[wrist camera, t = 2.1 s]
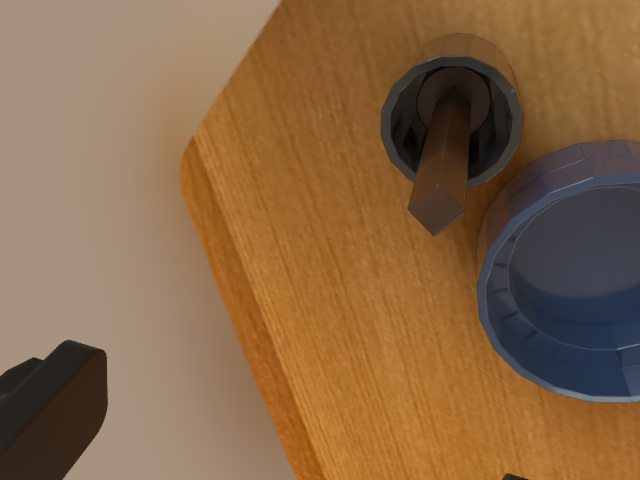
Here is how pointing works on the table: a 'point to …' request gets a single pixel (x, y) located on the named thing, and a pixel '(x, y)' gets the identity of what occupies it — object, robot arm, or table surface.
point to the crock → (484, 144)
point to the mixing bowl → (567, 272)
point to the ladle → (447, 143)
